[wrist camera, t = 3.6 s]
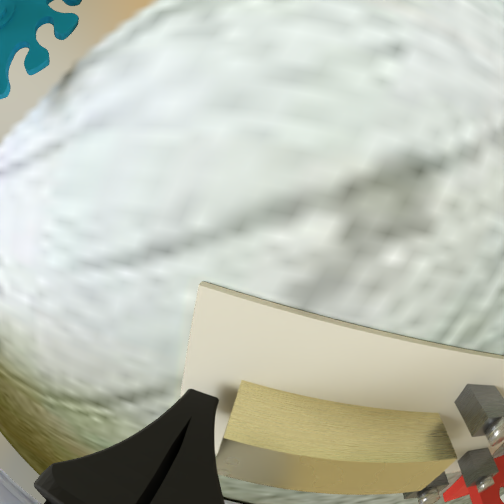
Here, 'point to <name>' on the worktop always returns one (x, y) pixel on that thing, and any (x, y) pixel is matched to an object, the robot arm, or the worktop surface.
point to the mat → (328, 362)
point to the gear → (29, 33)
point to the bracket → (486, 500)
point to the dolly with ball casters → (479, 424)
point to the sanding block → (330, 444)
